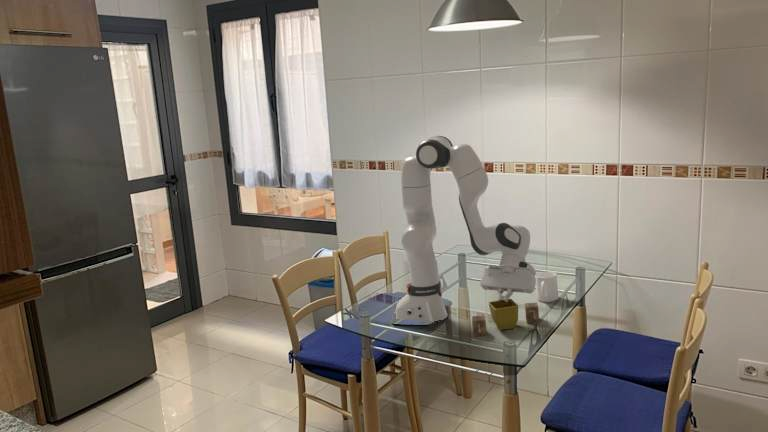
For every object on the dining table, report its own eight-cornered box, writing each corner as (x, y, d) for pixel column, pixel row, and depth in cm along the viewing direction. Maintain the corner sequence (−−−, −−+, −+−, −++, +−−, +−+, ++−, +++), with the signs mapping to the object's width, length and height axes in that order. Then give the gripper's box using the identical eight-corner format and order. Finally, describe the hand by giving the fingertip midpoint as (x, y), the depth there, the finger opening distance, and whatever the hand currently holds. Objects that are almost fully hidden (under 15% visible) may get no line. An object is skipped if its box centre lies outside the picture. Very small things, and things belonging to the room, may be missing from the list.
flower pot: (490, 324, 215) (488, 301, 213) (513, 321, 215) (511, 298, 214) (497, 333, 206) (494, 309, 205) (521, 329, 207) (518, 305, 205)
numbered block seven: (526, 323, 212) (525, 307, 211) (526, 318, 216) (524, 303, 215) (539, 322, 211) (538, 306, 210) (538, 317, 216) (537, 302, 214)
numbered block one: (473, 337, 206) (472, 321, 205) (474, 332, 210) (472, 316, 209) (486, 336, 205) (484, 320, 204) (486, 331, 209) (485, 315, 208)
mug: (554, 306, 225) (552, 280, 223) (532, 305, 229) (530, 280, 227) (560, 296, 235) (558, 271, 233) (539, 295, 239) (537, 271, 237)
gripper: (482, 261, 219) (473, 295, 213) (534, 264, 206) (526, 299, 200) (489, 269, 223) (480, 302, 217) (540, 272, 210) (532, 307, 205)
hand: (502, 301), depth 209 cm, fingers closed
